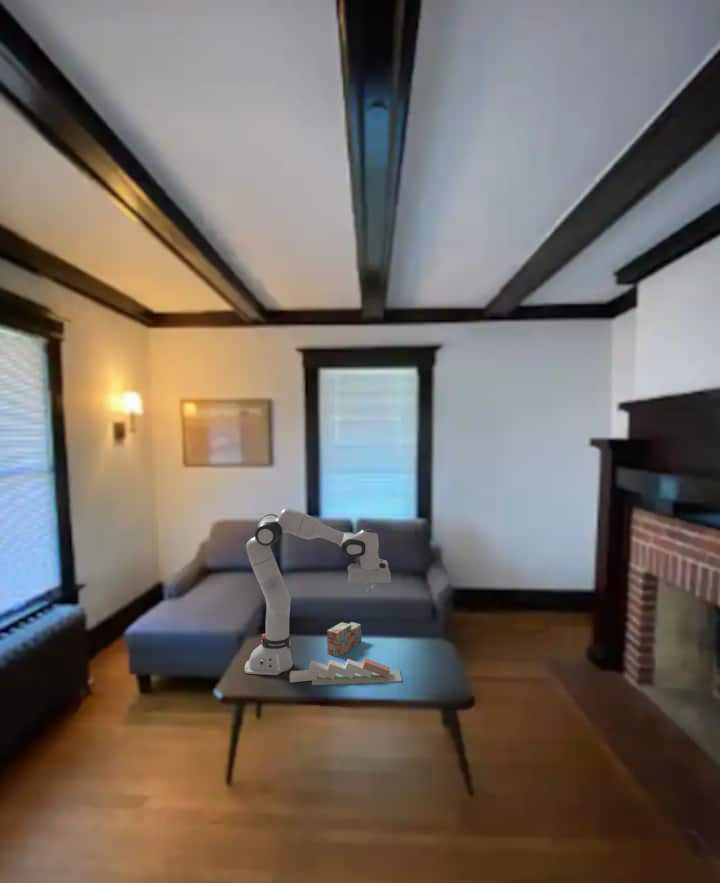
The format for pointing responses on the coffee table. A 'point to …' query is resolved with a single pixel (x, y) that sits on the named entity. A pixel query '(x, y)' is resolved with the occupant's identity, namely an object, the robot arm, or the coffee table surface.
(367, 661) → the domino
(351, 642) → the stack of blocks
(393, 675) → the mat
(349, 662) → the domino
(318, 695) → the coffee table surface
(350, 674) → the domino
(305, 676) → the domino
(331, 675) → the domino
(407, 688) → the coffee table surface
